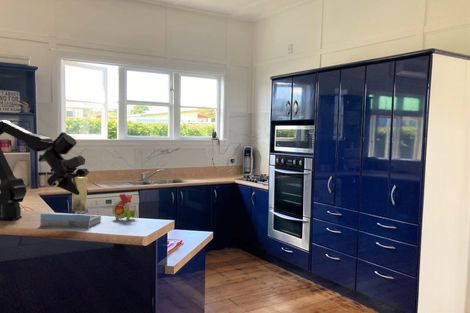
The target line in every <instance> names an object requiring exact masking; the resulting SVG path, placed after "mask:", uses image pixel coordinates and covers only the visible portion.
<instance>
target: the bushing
mask: <svg viewBox="0 0 470 313" xmlns="http://www.w3.org/2000/svg"><path fill="white" fill-rule="evenodd" d="M72 182H73V183H74V185H75V186H76V188H77V189H78V191H79V193H80V194H79V195H76V194H74V193H72V196H71V198H72V201H71V202H72V205H71V212H75V213H76V212H77V213H79V212H80V213H81V212H86V211H87V200H88V199H87V198H88V196H87V195H88V192H87V190H88V177H87V176H85V177H73V181H72Z"/></svg>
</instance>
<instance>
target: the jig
mask: <svg viewBox="0 0 470 313" xmlns="http://www.w3.org/2000/svg"><path fill="white" fill-rule="evenodd" d="M101 222H102V216H101V215H97V214H96V215H95V214H93V215H91V214H74V213H73V214H71V213H46V212H44V213H43V212H42V213H40V227H54V228H55V227H57V228H78V229H89V228H92V227H93V226H95V225H98V224H99V223H101Z"/></svg>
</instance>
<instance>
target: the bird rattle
mask: <svg viewBox="0 0 470 313" xmlns="http://www.w3.org/2000/svg"><path fill="white" fill-rule="evenodd" d="M119 198H120V200H118V201H116V202H115V203H114V204H113V206H112V210H111V211H112V214H113V217H114V218H115V220H123V219H125V218H126V222H128V221H129V219H131V217H132V218H136V217H135V215H136V213H137V211H135V210H130V205H129V204H128V203H131V202H132V198H133V196H132V195H128V196H127V195H126V194H125V193H122V194H121V193H120V194H119Z"/></svg>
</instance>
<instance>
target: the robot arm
mask: <svg viewBox="0 0 470 313" xmlns="http://www.w3.org/2000/svg"><path fill="white" fill-rule="evenodd" d="M3 134H7V135H9V136H11V137H13V138H15V139H17V140H19V141H22V142H23V143H24V144H25V145H26V146H27V147H28V148H29V150H31V151H33V152H38V153H41V152H43V153H42V154H39V157H38V162H39V163H41V162H42V163H43V162H44V163H45V162H46V163H47V165H48V166H49V168H50V170H49V171H50V172H51V173H52V174H51V175H50V176H49V177H48V178H47V179H46V184H47V185H48V186H49V187H57V188H60V189H62V190H65V191H67V192H69V193H74V194H76V195H79V194H80V193H79V191H78V189H77V188H76V186H75V185H74V183H73V177H87V176H88V175H89V173H90V171H89V170H88V169H87V168H78V167H81V166H84V165H85V164H86V163H85V162H86V158H84V156H82V155H77V156H73V157H72V158H69V159H65V157H63V155H67V154H68V153H69V152H70V151H72V149H73V148H74V147H75V146H76V145H77V140H76V139H75V138H74V137H72V136H71V135H69V134H67V133H66V132H62V131H61V132H60V134H58V136H57V137H56V138H55V139H54V140H53V139H52V138H51V137H48V136H45V135H41V134H36V133H33V132H31V131H29V130H26V129H25V128H23V127H20V126H18V125H16V124H15V123H12V122H11V121H10V120H7V119H0V136H1V135H3ZM7 160H8V159H7V158H6V156H5V154H4V152H3V150H2V148H1V147H0V221H15V220H18V219H21V218H22V217H23V216H22V215H21V214H22V212H21V211H22V210H21V209H22V208H21V205H20V203H23V202H24V198H25V196H26V195H27V193H28V192H27V191H28V190H27V187H28V186H27V185H26V184H25V182H24V179H23V178H22V177H21V178H20V177H18V178H17V177H16V176H15V175H14V173H13V171H12V169H11V166H10V164H9V162H8V161H7ZM56 182H57V183H56ZM88 192H89V190H88V189H87V193H88Z"/></svg>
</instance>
